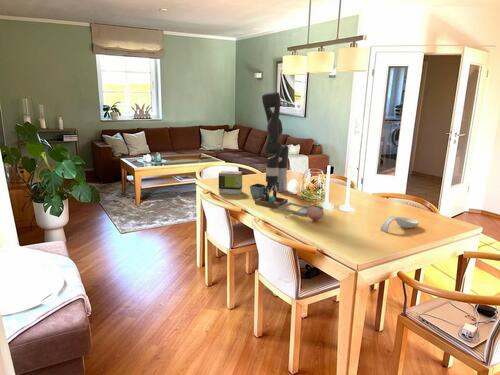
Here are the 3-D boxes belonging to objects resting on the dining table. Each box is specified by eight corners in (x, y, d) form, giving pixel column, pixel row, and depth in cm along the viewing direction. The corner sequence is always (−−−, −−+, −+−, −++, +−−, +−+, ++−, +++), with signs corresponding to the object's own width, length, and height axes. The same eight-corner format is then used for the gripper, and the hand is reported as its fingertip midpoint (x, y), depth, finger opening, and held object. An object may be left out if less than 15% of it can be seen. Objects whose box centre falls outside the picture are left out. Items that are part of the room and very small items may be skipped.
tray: (289, 204, 234) (289, 202, 233) (315, 210, 224) (315, 207, 223) (277, 210, 223) (277, 207, 222) (304, 216, 213) (304, 213, 212)
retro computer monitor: (242, 191, 262) (242, 171, 259) (239, 195, 253) (239, 174, 249) (221, 190, 265) (221, 169, 261) (218, 193, 255) (218, 172, 252)
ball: (270, 201, 237) (270, 194, 235) (276, 203, 234) (277, 195, 232) (265, 203, 233) (266, 195, 231) (272, 205, 230) (272, 197, 229)
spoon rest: (404, 221, 208) (405, 209, 207) (422, 228, 199) (424, 215, 197) (375, 228, 197) (376, 215, 195) (393, 236, 187) (395, 222, 185)
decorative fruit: (323, 219, 208) (325, 202, 206) (322, 224, 201) (323, 206, 198) (307, 217, 211) (308, 200, 208) (305, 222, 203) (306, 204, 201)
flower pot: (259, 201, 240) (260, 187, 238) (249, 198, 245) (249, 185, 243) (267, 198, 247) (268, 185, 245) (257, 196, 252) (257, 183, 250)
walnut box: (267, 199, 243) (268, 195, 243) (287, 204, 235) (287, 199, 234) (254, 205, 232) (254, 200, 231) (275, 209, 223) (275, 204, 222)
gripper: (273, 171, 236) (272, 196, 240) (260, 175, 225) (259, 200, 229) (283, 173, 232) (281, 198, 236) (270, 176, 221) (269, 202, 225)
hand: (270, 199), depth 232 cm, fingers open, 8 cm apart
